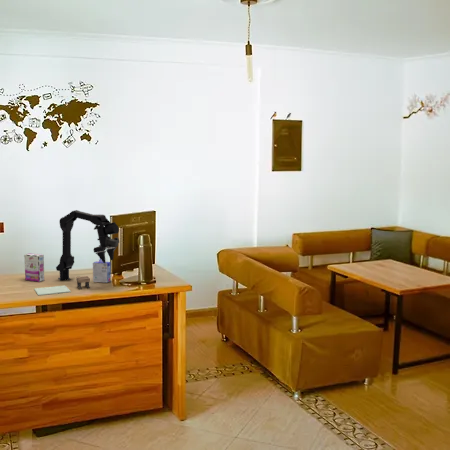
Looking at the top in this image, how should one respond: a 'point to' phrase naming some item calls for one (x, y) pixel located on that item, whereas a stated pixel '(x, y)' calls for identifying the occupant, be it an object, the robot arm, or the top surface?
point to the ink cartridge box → (101, 271)
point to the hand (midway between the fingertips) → (108, 261)
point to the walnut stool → (83, 279)
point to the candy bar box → (34, 267)
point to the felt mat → (52, 290)
